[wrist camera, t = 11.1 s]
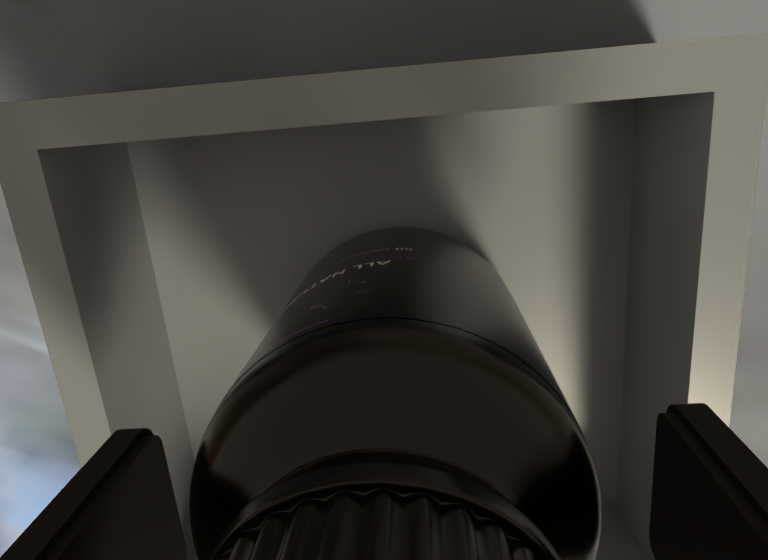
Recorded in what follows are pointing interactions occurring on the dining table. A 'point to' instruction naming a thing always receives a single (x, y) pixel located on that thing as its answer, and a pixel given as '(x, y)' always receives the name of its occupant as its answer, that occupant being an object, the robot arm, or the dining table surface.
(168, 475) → the robot arm
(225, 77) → the dining table surface
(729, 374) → the tray
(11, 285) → the dining table surface
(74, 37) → the dining table surface
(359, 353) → the supplement bottle
